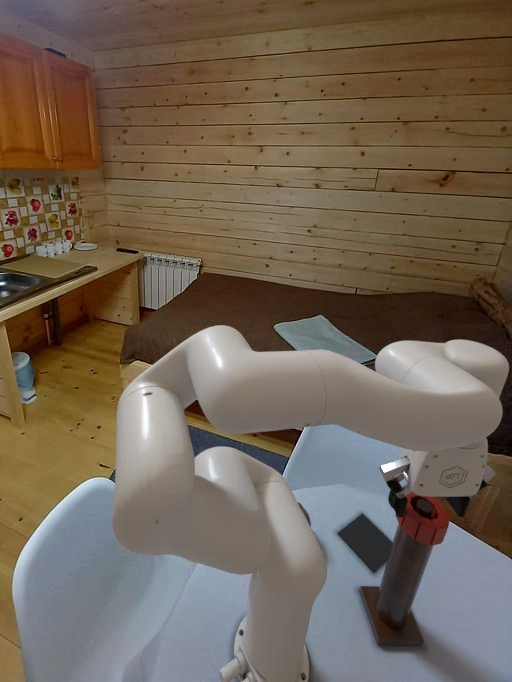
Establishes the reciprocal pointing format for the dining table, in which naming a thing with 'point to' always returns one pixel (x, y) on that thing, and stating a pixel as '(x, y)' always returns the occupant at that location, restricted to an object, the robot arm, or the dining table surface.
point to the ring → (425, 521)
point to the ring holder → (398, 588)
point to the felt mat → (367, 541)
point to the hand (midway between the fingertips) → (424, 508)
